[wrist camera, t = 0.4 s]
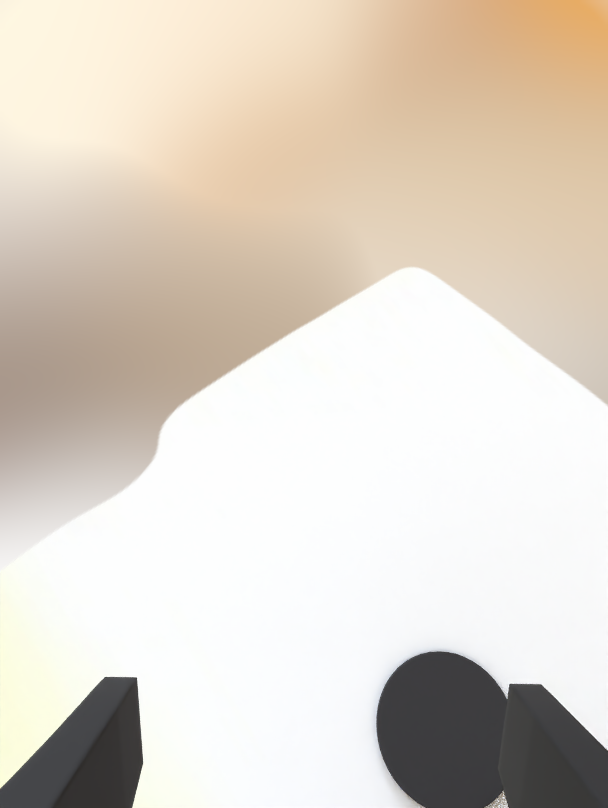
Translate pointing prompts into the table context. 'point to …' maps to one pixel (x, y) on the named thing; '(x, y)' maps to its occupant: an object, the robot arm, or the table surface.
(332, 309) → the table surface
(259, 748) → the table surface
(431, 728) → the coaster
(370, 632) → the table surface
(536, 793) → the robot arm
